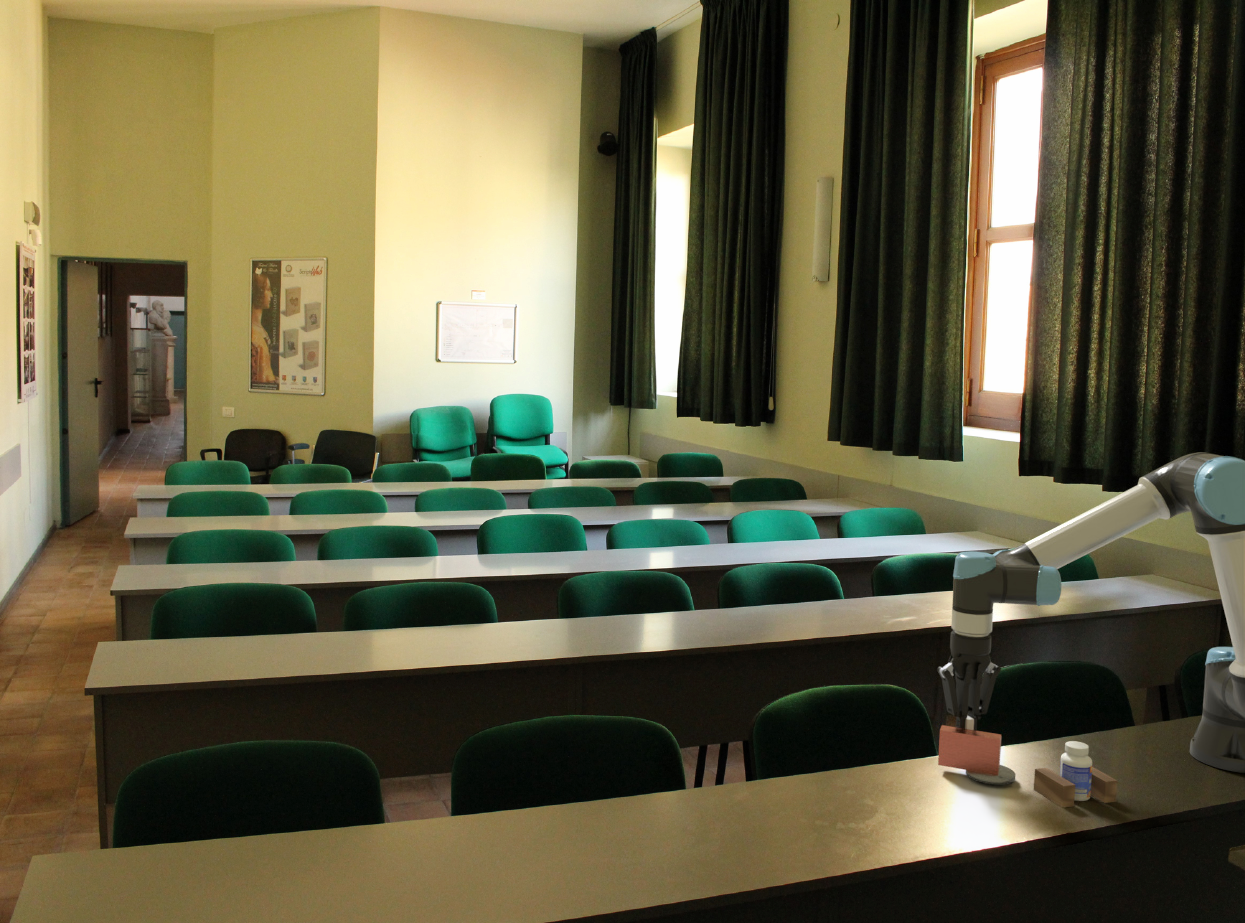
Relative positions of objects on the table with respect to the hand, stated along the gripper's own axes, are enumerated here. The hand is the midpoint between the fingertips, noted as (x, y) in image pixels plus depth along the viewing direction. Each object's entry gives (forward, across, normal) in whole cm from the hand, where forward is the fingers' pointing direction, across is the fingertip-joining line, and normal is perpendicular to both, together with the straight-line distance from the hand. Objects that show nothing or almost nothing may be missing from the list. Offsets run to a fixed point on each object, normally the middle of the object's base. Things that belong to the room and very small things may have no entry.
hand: (965, 748), depth 202 cm
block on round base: (+3, 0, +4) cm, 5 cm away
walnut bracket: (+4, -13, +16) cm, 21 cm away
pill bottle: (+4, -13, +16) cm, 21 cm away
